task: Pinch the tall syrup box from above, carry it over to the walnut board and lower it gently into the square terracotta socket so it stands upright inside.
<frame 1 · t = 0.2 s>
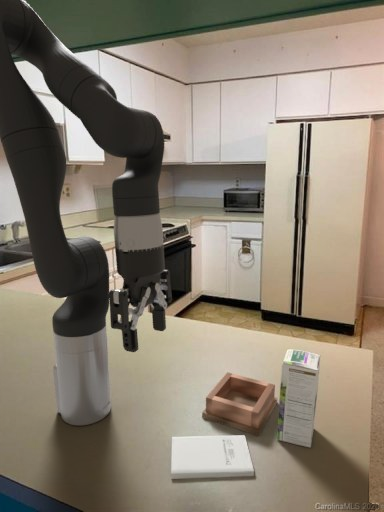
hand: (146, 339, 63), 18 cm above the countertop, tool pointing down, fingers open, 8 cm apart
socket: (240, 409, 74), on the countertop
external hard drive: (210, 461, 62), on the countertop
syrup box: (296, 435, 67), on the countertop
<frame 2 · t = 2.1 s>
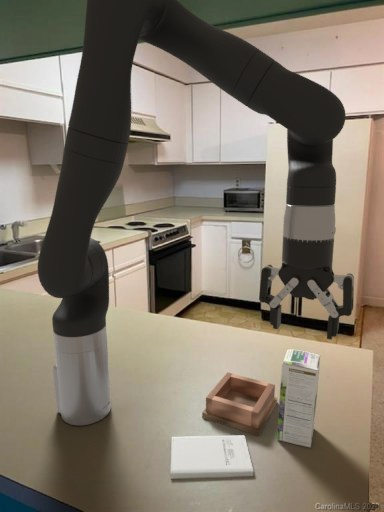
hand: (302, 332, 62), 19 cm above the countertop, tool pointing down, fingers open, 8 cm apart
nothing on the countertop moved.
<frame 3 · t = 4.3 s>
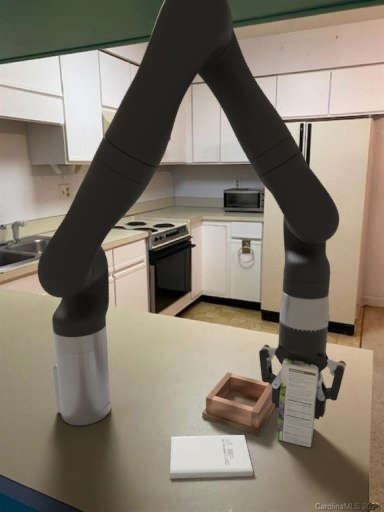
hand: (297, 410, 66), 5 cm above the countertop, tool pointing down, fingers closed on syrup box, 6 cm apart
syrup box: (296, 435, 67), on the countertop, touching gripper
everything else where it was.
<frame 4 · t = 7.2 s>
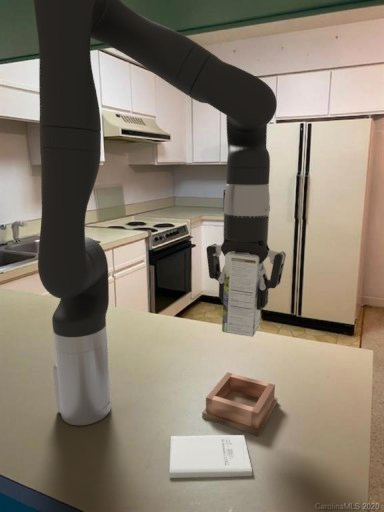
hand: (242, 305, 69), 21 cm above the countertop, tool pointing down, fingers closed on syrup box, 6 cm apart
syrup box: (241, 330, 70), point 16 cm above the countertop, touching gripper
everything else where it was.
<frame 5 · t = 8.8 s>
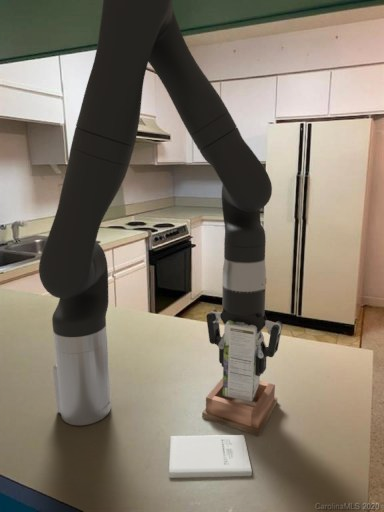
hand: (242, 369, 72), 9 cm above the countertop, tool pointing down, fingers closed on syrup box, 6 cm apart
syrup box: (241, 392, 73), point 4 cm above the countertop, touching gripper
everything else where it was.
when the fingers open (7 cm above the countertop, at t = 10.3 s): syrup box drops 1 cm, resting on socket.
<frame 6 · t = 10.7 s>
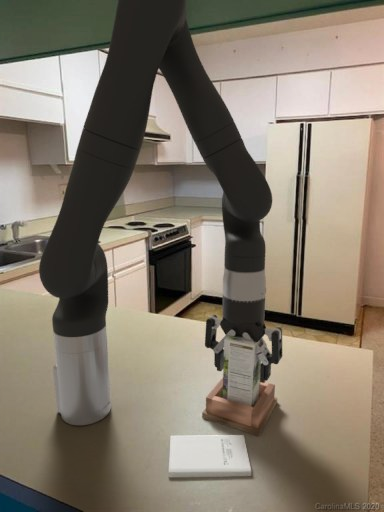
hand: (241, 374, 72), 7 cm above the countertop, tool pointing down, fingers open, 8 cm apart
syrup box: (241, 406, 73), point 1 cm above the countertop, touching socket
everything else where it was.
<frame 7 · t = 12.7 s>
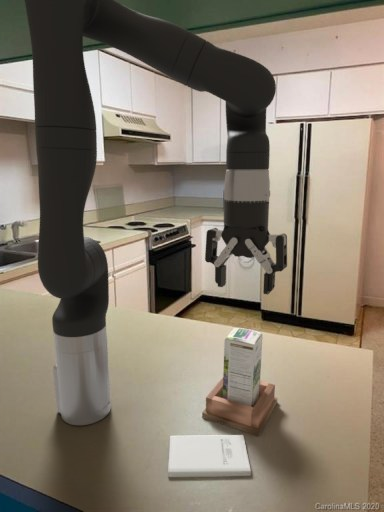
hand: (243, 289, 68), 24 cm above the countertop, tool pointing down, fingers open, 8 cm apart
nothing on the countertop moved.
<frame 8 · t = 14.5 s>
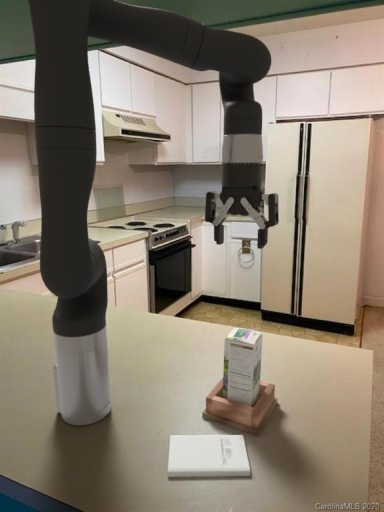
hand: (240, 246, 75), 30 cm above the countertop, tool pointing down, fingers open, 8 cm apart
nothing on the countertop moved.
at the end: syrup box 0.1 cm off-centre on the socket, point 0.8 cm above the socket's base; syrup box tilted 0°; the gripper is holding nothing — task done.
